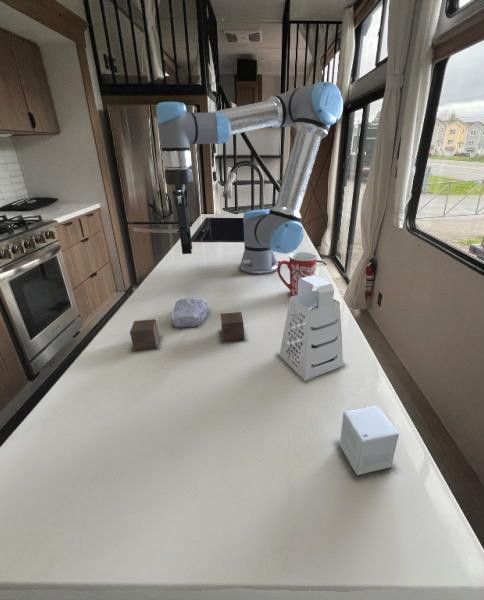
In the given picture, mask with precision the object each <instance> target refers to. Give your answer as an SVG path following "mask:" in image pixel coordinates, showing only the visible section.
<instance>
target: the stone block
mask: <svg viewBox="0 0 484 600" xmlns="http://www.w3.org/2000/svg"><path fill="white" fill-rule="evenodd" d="M209 311H210V308H209V305H208V302H207V301H206V300H204V299H201V298H195V297H191V298H190V297H186V298H180V299H178V300H176V301H175V303H174V306H173V311H172V313H171V314H170V315H171V317H170V318H171V325H172V326H173V327H174V328H175V329H177V328H188V327H194V328H195V327H198V326H200V324H201V323H202V322H203V321H204V319H205V317H206V316H207V314H208V313H209Z"/></svg>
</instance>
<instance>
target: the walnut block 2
mask: <svg viewBox="0 0 484 600" xmlns="http://www.w3.org/2000/svg"><path fill="white" fill-rule="evenodd" d="M220 325H221V326H220V328H221V336H222V343H228V342H239V341H245V332H244V331H245V328H244V326H245V325H244V318H243V314H242V311H234V312H222V313H220Z"/></svg>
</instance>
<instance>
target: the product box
mask: <svg viewBox="0 0 484 600" xmlns="http://www.w3.org/2000/svg"><path fill="white" fill-rule="evenodd" d="M399 435H400V433H399V432H398V430H397V429H396V428H395V427H394V425H393V424H392V423H391V422H390V419H388V418H387V416H386V415H385V413H384V412H383V411H382V409H381V408H380V406H379V405H372V406H371V405H370V406H367V407H362V408H358V409H357V408H356V409H353V410H348V411H347V410H346V411H343V413H342V422H341V431H340V439H339V446H340V448H341V450H342V451H343V454H344V455H345V457H346V459H347V460H348V462H349V464H350V466H351V468H352V469H353V471H354V474H356V476H359V475H364V474H368V473H373V472H377V471H380V470H384V469H389V468H392V466H393V463H394V458H395V454H396V450H397V449H396V448H397V444H398V439H399Z"/></svg>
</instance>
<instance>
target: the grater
mask: <svg viewBox="0 0 484 600" xmlns="http://www.w3.org/2000/svg"><path fill="white" fill-rule="evenodd" d="M312 285H313V287H316V289H315V290H313V291H311V287H312ZM334 295H335V288H334V286H333V284H332V283H331V282H330V281H328V280H326V279H324V278H322V277H320V276H318V275H316V274H315V275H312V276H308V277H303V278H300V279H299V281H298V295H295V296H291V295H290V298H289V302H288V308H287V311H286V318H285V324H284V329H283V334H282V340H281V345H280V351H279V357H281V358H282V359H283V361H285V362H286V363H287V364H288V365H289V367H291V368H292V370H294V371H295V373H297V374H298V375H299V376H300V378H302V379H303V380H304V381H309V380H310V379H314V378H316V377H318V376H321V375H323V374H326V373H329V372H332V371H334V370H337V369H339V368H341V367H344V352H343V350H344V349H343V335H342V334H343V333H342V318H341V317H342V316H341V303H340V301H338V300H337V299H335V298H334ZM304 323H305V324H304ZM312 346H318V347H316V348H313V347H312ZM332 359H334V360H332ZM329 360H332V361H329ZM327 361H329V362H327ZM298 362H299V363H298ZM324 362H327V363H324ZM321 363H324V364H321ZM318 364H321V365H318ZM312 365H315V366H316V365H318V366H316V367H312Z"/></svg>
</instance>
